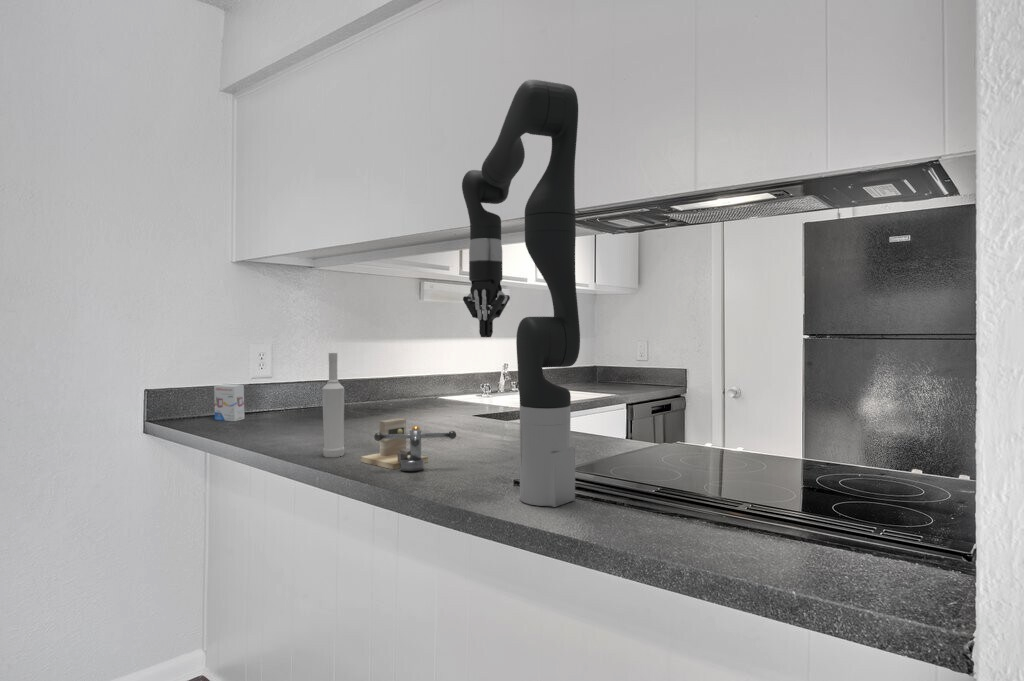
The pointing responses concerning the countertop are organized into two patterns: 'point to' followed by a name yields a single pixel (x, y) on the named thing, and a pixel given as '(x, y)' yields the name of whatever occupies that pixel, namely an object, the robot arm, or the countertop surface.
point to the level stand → (391, 446)
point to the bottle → (333, 412)
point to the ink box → (229, 402)
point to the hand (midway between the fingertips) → (485, 337)
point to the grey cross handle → (414, 446)
